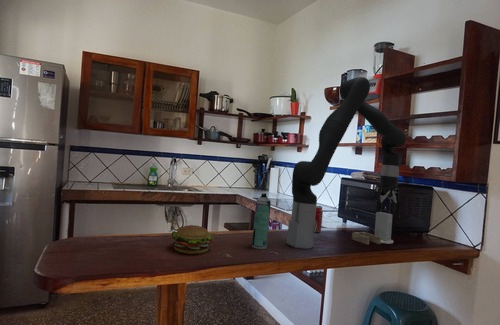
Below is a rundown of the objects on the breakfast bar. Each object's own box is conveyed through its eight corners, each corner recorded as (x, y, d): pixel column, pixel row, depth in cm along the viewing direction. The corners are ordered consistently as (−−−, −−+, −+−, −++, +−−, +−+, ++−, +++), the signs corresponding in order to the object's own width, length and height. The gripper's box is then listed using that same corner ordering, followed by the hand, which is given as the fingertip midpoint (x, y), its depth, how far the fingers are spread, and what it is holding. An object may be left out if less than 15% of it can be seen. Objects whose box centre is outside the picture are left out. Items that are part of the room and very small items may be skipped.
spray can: (267, 246, 120) (272, 193, 120) (264, 250, 115) (269, 195, 114) (254, 243, 121) (258, 191, 121) (250, 247, 116) (255, 193, 116)
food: (220, 249, 111) (222, 227, 110) (192, 258, 99) (194, 233, 99) (192, 241, 118) (194, 219, 118) (162, 248, 107) (164, 224, 106)
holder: (367, 244, 136) (367, 237, 136) (351, 239, 144) (352, 232, 144) (380, 244, 140) (381, 237, 140) (364, 238, 148) (365, 232, 148)
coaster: (383, 244, 140) (383, 242, 140) (367, 238, 148) (367, 236, 148) (397, 243, 144) (397, 241, 144) (381, 237, 152) (381, 236, 152)
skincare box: (391, 240, 145) (393, 214, 144) (385, 241, 142) (388, 214, 142) (378, 237, 150) (381, 211, 149) (373, 237, 147) (375, 211, 147)
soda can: (303, 229, 155) (305, 204, 155) (316, 229, 157) (318, 205, 157) (310, 233, 149) (312, 207, 148) (323, 233, 151) (326, 208, 150)
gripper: (385, 175, 139) (381, 212, 139) (407, 177, 145) (403, 212, 145) (371, 173, 146) (367, 208, 146) (393, 175, 152) (389, 209, 152)
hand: (385, 210), depth 146 cm, fingers open, 8 cm apart
